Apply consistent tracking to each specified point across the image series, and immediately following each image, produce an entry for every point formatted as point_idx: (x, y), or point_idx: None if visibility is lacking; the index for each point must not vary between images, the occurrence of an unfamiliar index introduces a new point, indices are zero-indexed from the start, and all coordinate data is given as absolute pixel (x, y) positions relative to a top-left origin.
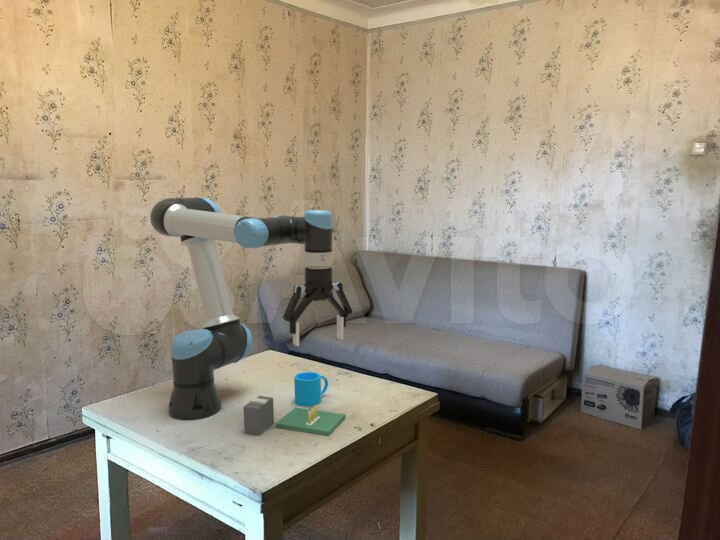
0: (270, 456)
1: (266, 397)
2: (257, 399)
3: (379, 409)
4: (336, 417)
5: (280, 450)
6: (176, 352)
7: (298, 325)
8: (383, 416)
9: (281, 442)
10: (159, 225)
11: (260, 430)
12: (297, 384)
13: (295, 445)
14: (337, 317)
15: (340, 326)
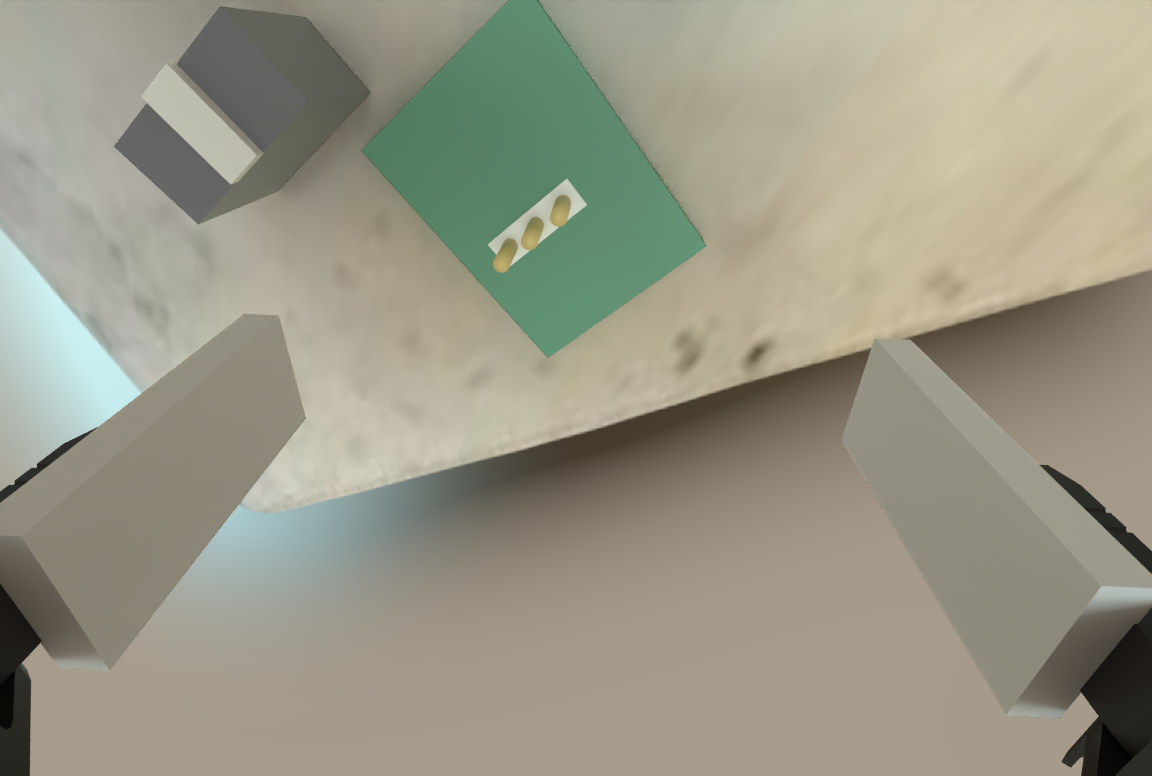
0: (301, 374)
1: (264, 73)
2: (193, 114)
3: (908, 237)
4: (650, 253)
5: (343, 354)
6: None
7: (132, 626)
8: (856, 314)
9: (360, 300)
10: None
11: (279, 183)
12: None
13: (405, 349)
14: (1055, 579)
15: (922, 553)
